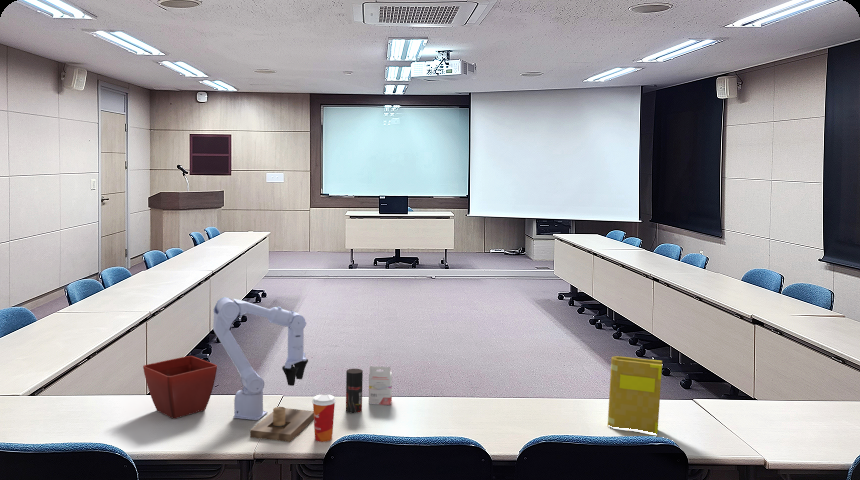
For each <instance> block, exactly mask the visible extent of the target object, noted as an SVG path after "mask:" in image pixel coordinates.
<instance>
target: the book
mask: <svg viewBox="0 0 860 480" xmlns="http://www.w3.org/2000/svg"><path fill="white" fill-rule="evenodd" d="M662 369H663V360H659V359H658V360H657V359H645V358H637V357H628V356H620V355H619V356H618V355H615V356H611V364H610V376H609V377H610V378H609V396H608V413H607V426H608V425H610V426H612V427H619V428H629V429H630V428H631V429H638V430H643V431H648V432H653V433H656V434H657V433H658V432H659V431H658V430H659V419H660V418H659V417H660V414H659V413H660V404H661V403H660V401H661V400H660V398H661V388H662V387H661V386H662V385H661V384H662Z"/></svg>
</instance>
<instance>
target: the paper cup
mask: <svg viewBox="0 0 860 480" xmlns="http://www.w3.org/2000/svg"><path fill="white" fill-rule="evenodd" d="M312 398H313V399H312V401H311V402H312V405H313V406H312V407H313V409H312V411H314V419H313V428H314V440H315V442H319V443H320V442H321V443H327V442H330V441H332V440H333V432H334V419H335V417H334V416H335V403H336V402H337V401H336V399H335V396H334V395H332V394H317V395H315V396H314V397H312Z"/></svg>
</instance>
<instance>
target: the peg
mask: <svg viewBox="0 0 860 480" xmlns="http://www.w3.org/2000/svg"><path fill="white" fill-rule="evenodd" d="M272 412H273V428H281V429H284V428H285V407H284V406H275V407H273V409H272Z"/></svg>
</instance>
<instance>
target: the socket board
mask: <svg viewBox="0 0 860 480" xmlns="http://www.w3.org/2000/svg"><path fill="white" fill-rule="evenodd" d="M312 421H314V411H313V410H305V409H297V408H289V407H288V408H287V407H286V408H285V428H284V429H281V428H273V411H272V412H270V414H268V415H267V416H266V417H265V418H263V419H262V420H261V421H260V422H258V423H257V424H256V425H255V426H253V427H252V428H251V429H249V437H250V438H251V439H252V438H253V439H258V440H259V439H260V440H261V439H262V440H268V441H269V440H270V441H278V442H285V443H286V442H287V443H291V442H292V441H293V440H294V439H295V438H296V437H297V436H298V435H299V434H300V433H301V432H302V431H303V430H304V429H305V428H306V427H307V426H308V425H309V424H310V423H312Z"/></svg>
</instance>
